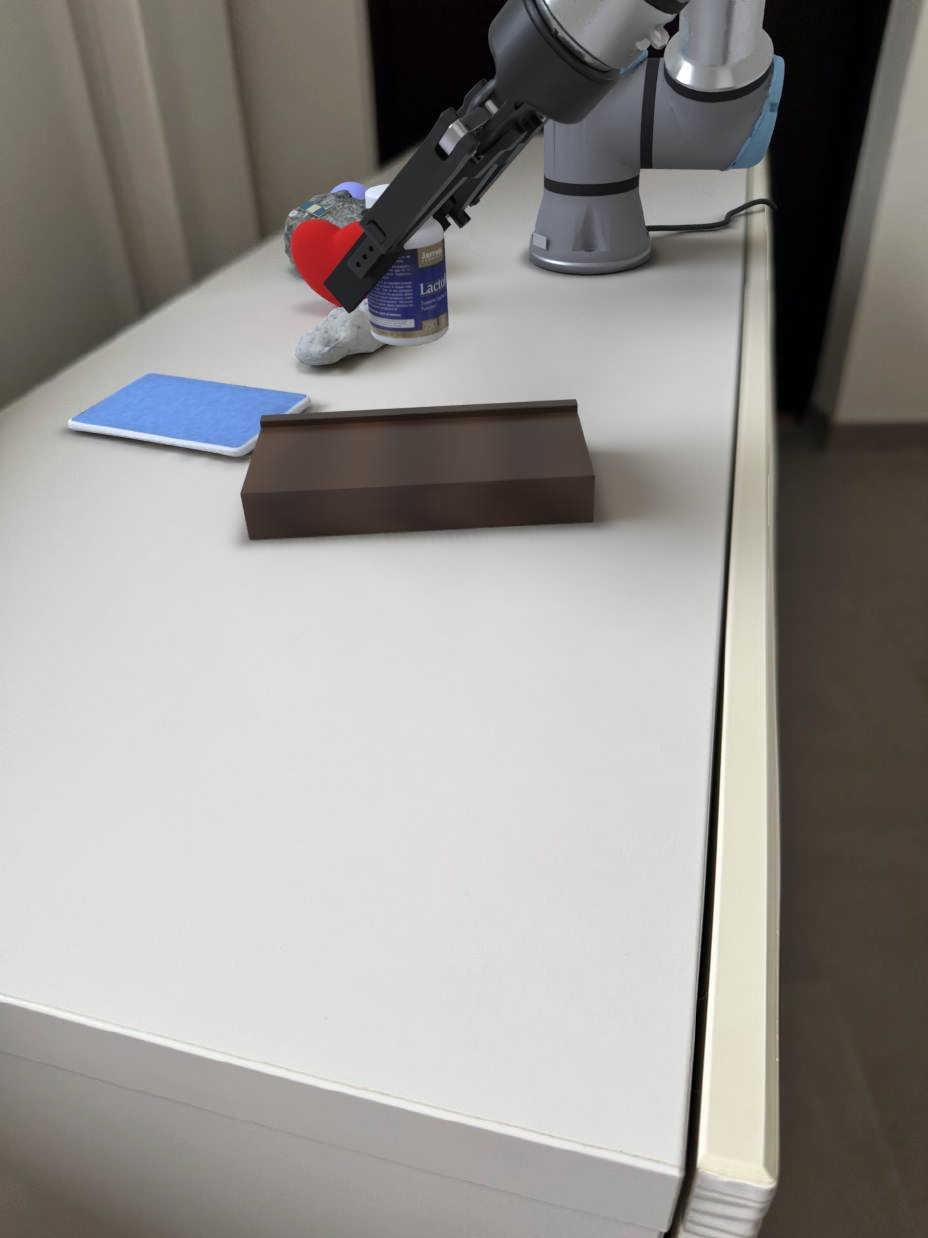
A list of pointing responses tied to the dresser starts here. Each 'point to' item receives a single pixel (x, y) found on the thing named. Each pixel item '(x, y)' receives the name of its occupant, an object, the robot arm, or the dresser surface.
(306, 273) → the heart
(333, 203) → the rock
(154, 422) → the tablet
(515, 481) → the ledge
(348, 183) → the sphere
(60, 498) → the dresser surface
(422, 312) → the pill bottle
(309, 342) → the decorative stone
